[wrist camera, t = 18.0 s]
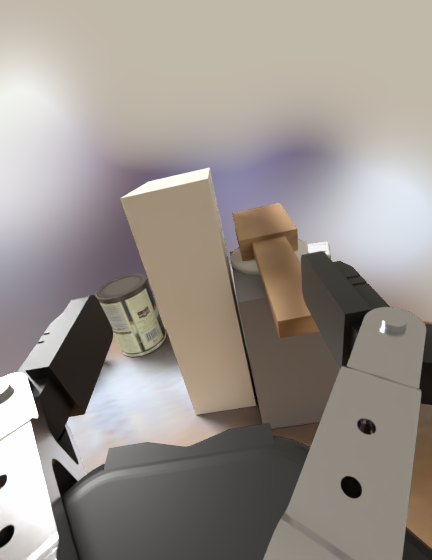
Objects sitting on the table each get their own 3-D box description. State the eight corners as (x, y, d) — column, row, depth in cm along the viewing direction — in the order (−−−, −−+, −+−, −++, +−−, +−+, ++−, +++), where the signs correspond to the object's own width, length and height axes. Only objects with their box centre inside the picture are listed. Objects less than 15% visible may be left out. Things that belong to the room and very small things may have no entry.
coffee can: (135, 327, 68) (114, 275, 62) (174, 326, 65) (155, 271, 59) (111, 357, 59) (83, 299, 53) (153, 358, 56) (129, 297, 50)
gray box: (263, 430, 38) (235, 294, 29) (250, 354, 51) (228, 246, 42) (340, 418, 37) (335, 275, 28) (306, 344, 50) (296, 232, 41)
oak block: (262, 345, 24) (258, 320, 23) (235, 231, 43) (232, 212, 42) (345, 330, 24) (347, 304, 22) (281, 221, 43) (279, 202, 41)
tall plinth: (196, 414, 42) (120, 198, 28) (200, 352, 55) (149, 181, 41) (256, 405, 41) (207, 178, 28) (246, 344, 54) (209, 167, 40)
